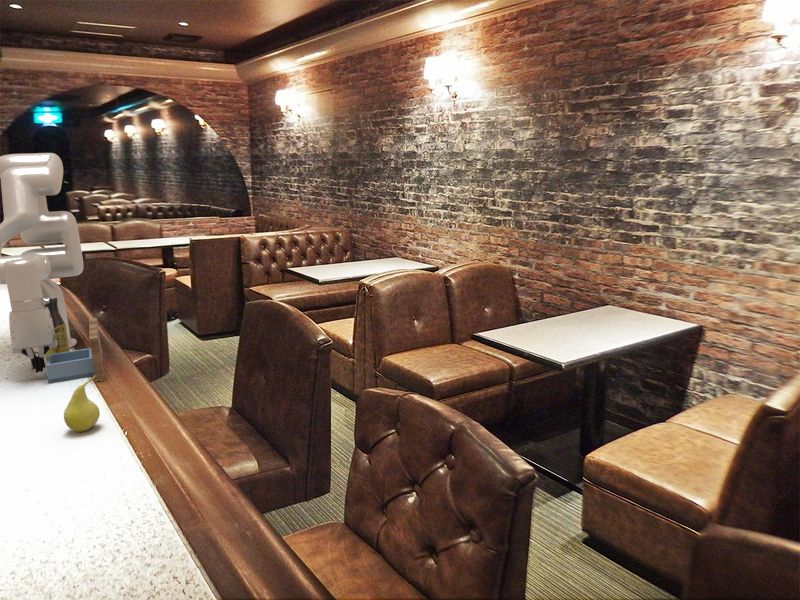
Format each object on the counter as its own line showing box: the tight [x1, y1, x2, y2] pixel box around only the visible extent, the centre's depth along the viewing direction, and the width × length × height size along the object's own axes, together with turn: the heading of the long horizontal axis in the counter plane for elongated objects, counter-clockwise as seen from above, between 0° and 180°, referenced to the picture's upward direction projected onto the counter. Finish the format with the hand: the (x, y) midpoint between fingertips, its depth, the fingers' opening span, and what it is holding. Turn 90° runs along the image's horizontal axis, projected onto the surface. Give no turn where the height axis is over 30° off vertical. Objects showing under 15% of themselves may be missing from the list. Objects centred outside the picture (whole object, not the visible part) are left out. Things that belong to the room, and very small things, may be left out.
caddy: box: [45, 347, 95, 384], centre depth 175 cm, size 11×12×5 cm
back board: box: [88, 317, 106, 383], centre depth 177 cm, size 24×2×12 cm, turn 26°
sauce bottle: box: [44, 297, 70, 362], centre depth 182 cm, size 7×6×20 cm
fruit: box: [63, 375, 101, 433], centre depth 137 cm, size 7×8×12 cm
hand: (39, 370), depth 172 cm, fingers closed
